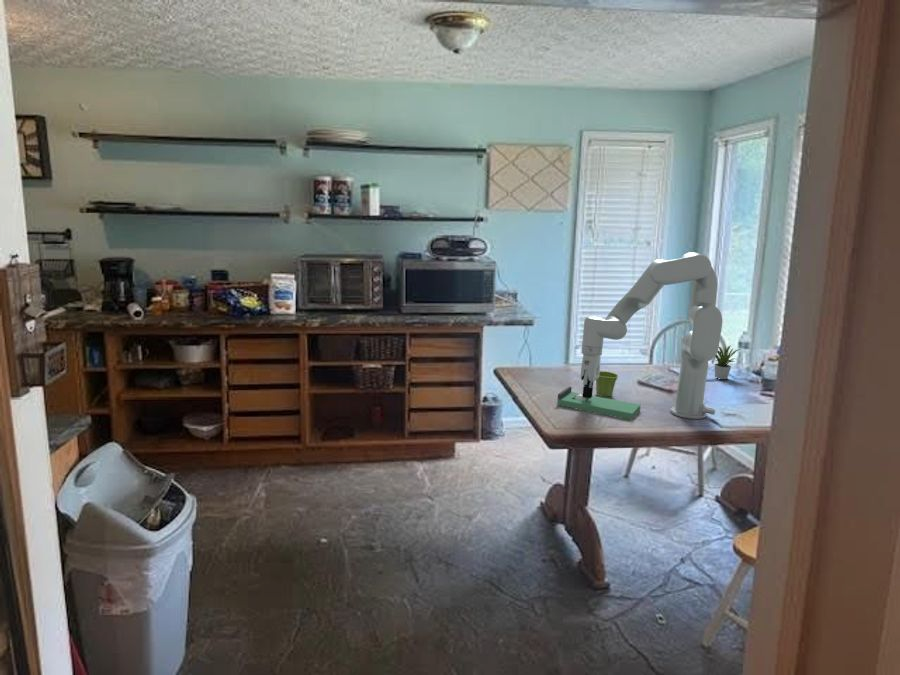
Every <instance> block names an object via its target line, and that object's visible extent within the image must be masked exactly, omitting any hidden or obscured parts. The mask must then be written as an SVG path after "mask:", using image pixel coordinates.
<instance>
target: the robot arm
mask: <svg viewBox="0 0 900 675" xmlns="http://www.w3.org/2000/svg"><path fill="white" fill-rule="evenodd" d="M716 274H717V273H716V272H715V270H714V268H713V266H712V263H711V260H710V258H709V257H708V256H706V255H704V254H702V253H698V252H694V251H693V252H692V251H690V252H687V253H685V254H683V255H682V256H681V258H675V259H669V260H666V259H662V258H660V259H659V258H658V259H655V260H653V261H652V262H651V263H650V264H649V265H648V267H647V268H646V269H645V270H644V272H643V273H642V274H641V275H640V277H639V278H638V279H637V281H636V282H635V283H634V285H633V286H632V287H631V288H630V289H629V291H628V292H626V294H625V295H624V296H623V297H622V298H621V299H620V300H619V301H618V302H617V303H616V304H615V305H614V307H613V308H612V309H611V310H610V312H609V313H608V315H607V316H606V317H605V318H603V317H601V316H600V317H599V316H587V317H585V318H584V322H583V330H582V332H583V333H582V343H581V352H580V353H581V354H582V355H583V356H582V362H581V366H580V380H581V381H583V382H582V384H583V388H582V394H583V397H585V398H591V397H592V396H593V390H594V384H595V382H596V379H598V378H599V376H600V371H601V361H602V360H601V356H602V355H603V346H604V339H609V340H614V341H615V340H621V339H623V338H624V337H626V335H627V332H628V328H627V325H626V324H627V323H628V322H629V320H631V318H632V317H633V316H634V315H635V314H636V313H637V312H638V311H640V310H642V309H644V308H646V307H647V306H649V305H650V304H651V303H652V301H653V300H654V299H655V297H656V296H657V295H658V294H659V293H660V291H661V290H662V289H663V288H664V286H670V285H675V284H676V285H677V284H681V283H686V282H691V293H690V294H691V295H690V301H689V307H688V313H687V314H688V315H687V317H688V321H689V322H690V324H691V325H692V330H689V331H688V332H687V333H686V334H685V335H684V336H683V338H682V339H681V340H682V341H681V345H680V347H681V348H680V356H681V357H680V366H679V373H678V374H679V375H678V383H677V390H676V398H675V405H674V406H672V407H670V410H669V412H670V413H671V414H672V415H674V416H676V417H680V418H684V419H691V420H700V419H705V418H706V416H707V414H709V415H716V409H714V408H713V407H707V406H706V405H705V404H706V403H705V402H704V398H705V392H706V385H707V378H708V377H707V376H708V371H709V370H708V369H709V362H710V361H711V360H713V359H714V358H715V355H716V354H717V355H718V353H717V351H718V350H719V347H720V346H719V345H720V340H721V336H722V328H723V316H722V313H721V311H720V309H719V308H718V307H716V303H717V295H718V294H717V293H718V277H717V275H716Z"/></svg>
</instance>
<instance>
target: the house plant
mask: <svg viewBox="0 0 900 675" xmlns="http://www.w3.org/2000/svg"><path fill="white" fill-rule="evenodd" d="M731 346H732V345H728V346H726V345H724V350H723V348H722V347H721V345H720V344H719V347H718V351H717V354H716V355H715V357H714V358H715V359H716V360H715V362H717V363H714V364H713V365H714V366H713V367H714V378H715V377H717V378H720V379H727V380H728V378H729V374H730V371H731V368H732V366H731V365H730V363H733V362H734V363H735V362H736V361H735V360H737V361H738V359H736V358H731V357H732V356H733V355H735V353H737V352H738V351H739V350H741V348H739V349H735V350H734V347H732V348H731ZM730 348H731V349H730ZM729 350H730V351H729ZM730 358H731V359H730Z"/></svg>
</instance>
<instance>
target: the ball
mask: <svg viewBox="0 0 900 675" xmlns="http://www.w3.org/2000/svg"><path fill="white" fill-rule="evenodd" d="M581 394H582V393H580V394H579V395H577V396H576V397H575V400H580V401H585V397H583V395H581Z"/></svg>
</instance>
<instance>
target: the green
mask: <svg viewBox="0 0 900 675" xmlns="http://www.w3.org/2000/svg"><path fill="white" fill-rule="evenodd" d="M579 394H581V395H583V393H579V392H573V391H572V386H568V387H566V388H565V389H563V390H562V391H560V392H559V393H558V394H557V401H556V405H557V406H558V405H561V406H560V407H563V406H567V407H566V408H568V407H571V408H570V409H573V408H577V409H576V410H578V409H581V410H580V411H584V410H586V411H585V412H589V411H590V412H589V413H594V412H596V413H595V414H599V413H600V414H599V415H604V414H606V415H605V416H609V415H611V416H610V417H614V416H616V417H615V418H619V417H621V418H620V419H624V418H626V419H625V420H629V419H631V420H630V421H633V419H635V417H636V416H637V413H638V414H639V413H640V411H641V404H638V403H633V402H629V401H622V400H619V399H618V400H617V399H611V398H608V397H603V396H595V395H592V397H591V398H585V401H580V400H575V397H576V396H577V395H579Z"/></svg>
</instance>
